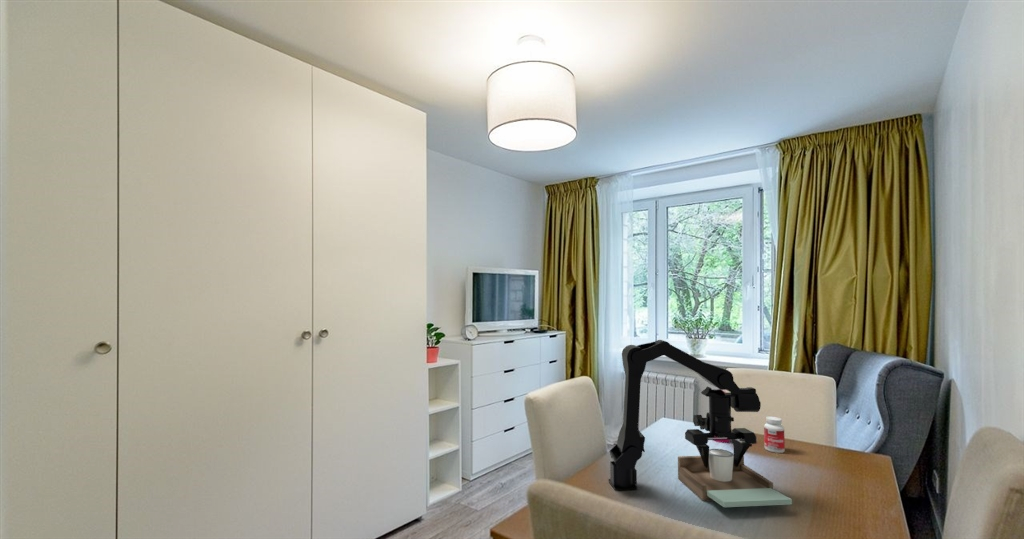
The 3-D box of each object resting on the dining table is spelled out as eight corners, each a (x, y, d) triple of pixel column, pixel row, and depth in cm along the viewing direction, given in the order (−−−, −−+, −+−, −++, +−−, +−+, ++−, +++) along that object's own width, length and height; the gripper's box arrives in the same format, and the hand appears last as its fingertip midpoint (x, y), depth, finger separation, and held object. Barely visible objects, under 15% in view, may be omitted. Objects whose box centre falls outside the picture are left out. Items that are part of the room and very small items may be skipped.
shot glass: (737, 483, 123) (736, 457, 123) (711, 481, 124) (710, 455, 124) (730, 473, 129) (729, 449, 130) (705, 471, 131) (704, 447, 131)
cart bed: (702, 501, 118) (702, 476, 118) (678, 478, 132) (677, 456, 132) (773, 498, 120) (772, 473, 120) (741, 476, 133) (741, 454, 134)
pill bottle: (766, 452, 154) (765, 419, 154) (762, 446, 160) (762, 415, 160) (786, 454, 152) (785, 421, 152) (782, 448, 157) (781, 416, 158)
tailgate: (706, 495, 117) (723, 507, 110) (706, 490, 118) (723, 502, 110) (770, 492, 119) (792, 504, 111) (770, 488, 119) (791, 499, 111)
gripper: (734, 403, 136) (735, 455, 136) (675, 405, 135) (676, 457, 134) (757, 413, 125) (758, 470, 125) (694, 415, 124) (695, 472, 123)
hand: (720, 466), depth 127 cm, fingers open, 9 cm apart
